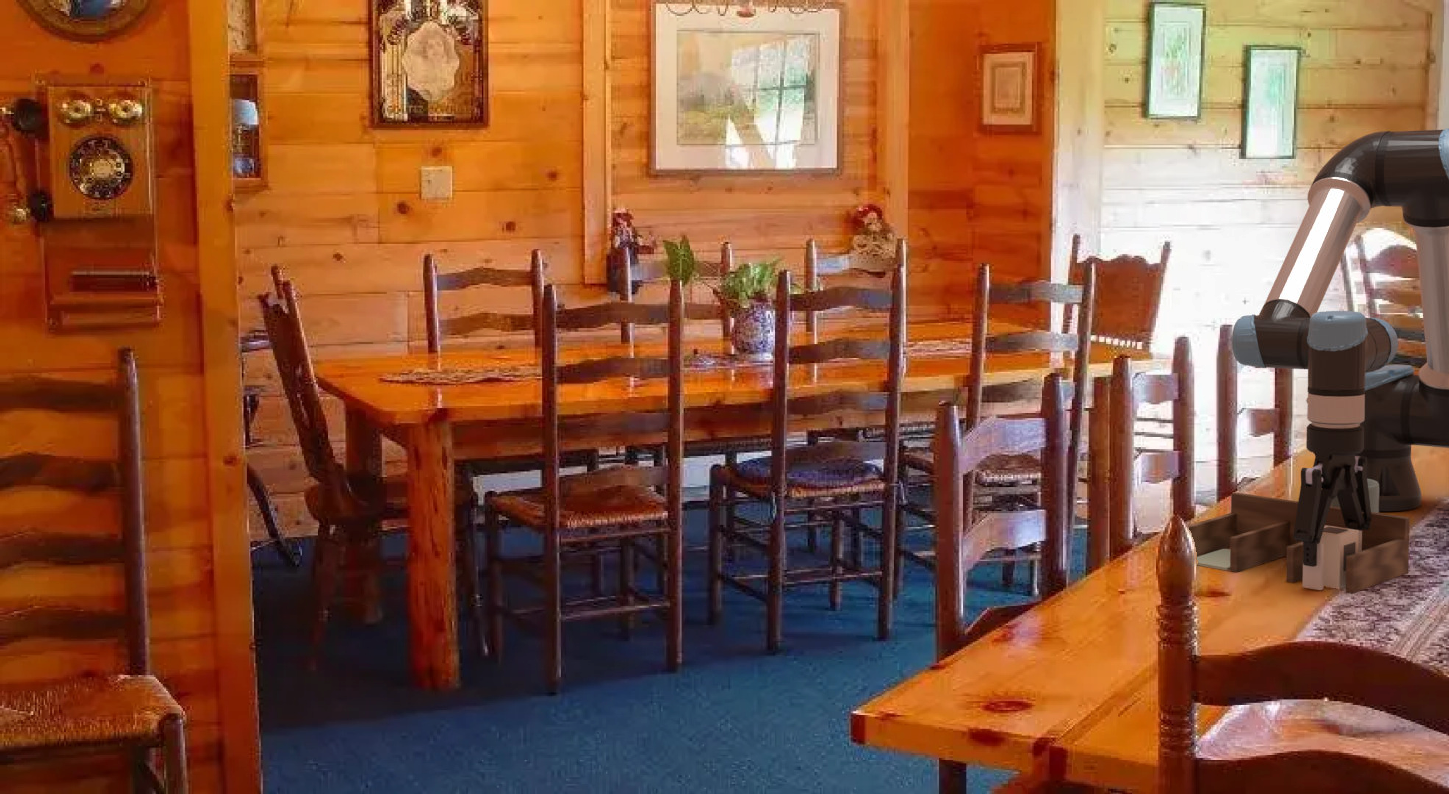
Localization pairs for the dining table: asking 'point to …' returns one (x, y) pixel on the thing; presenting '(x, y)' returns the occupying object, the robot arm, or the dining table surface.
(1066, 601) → the dining table surface
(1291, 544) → the cubby
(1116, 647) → the dining table surface
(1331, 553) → the white upright rectangular block
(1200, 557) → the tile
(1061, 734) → the dining table surface
